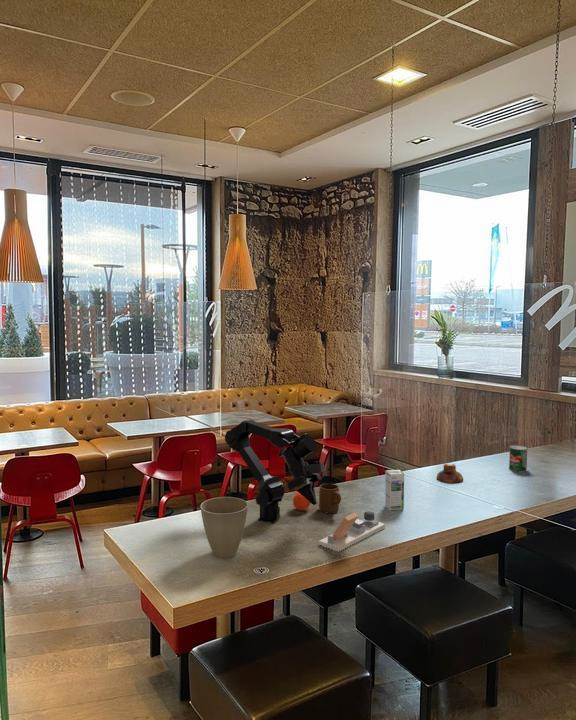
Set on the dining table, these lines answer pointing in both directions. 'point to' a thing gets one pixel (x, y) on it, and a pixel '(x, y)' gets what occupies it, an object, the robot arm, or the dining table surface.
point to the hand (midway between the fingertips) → (315, 504)
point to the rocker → (358, 523)
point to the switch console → (352, 535)
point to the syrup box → (394, 489)
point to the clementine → (300, 502)
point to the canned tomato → (518, 458)
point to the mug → (329, 498)
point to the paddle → (345, 526)
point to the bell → (449, 474)
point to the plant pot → (224, 524)
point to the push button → (369, 516)
